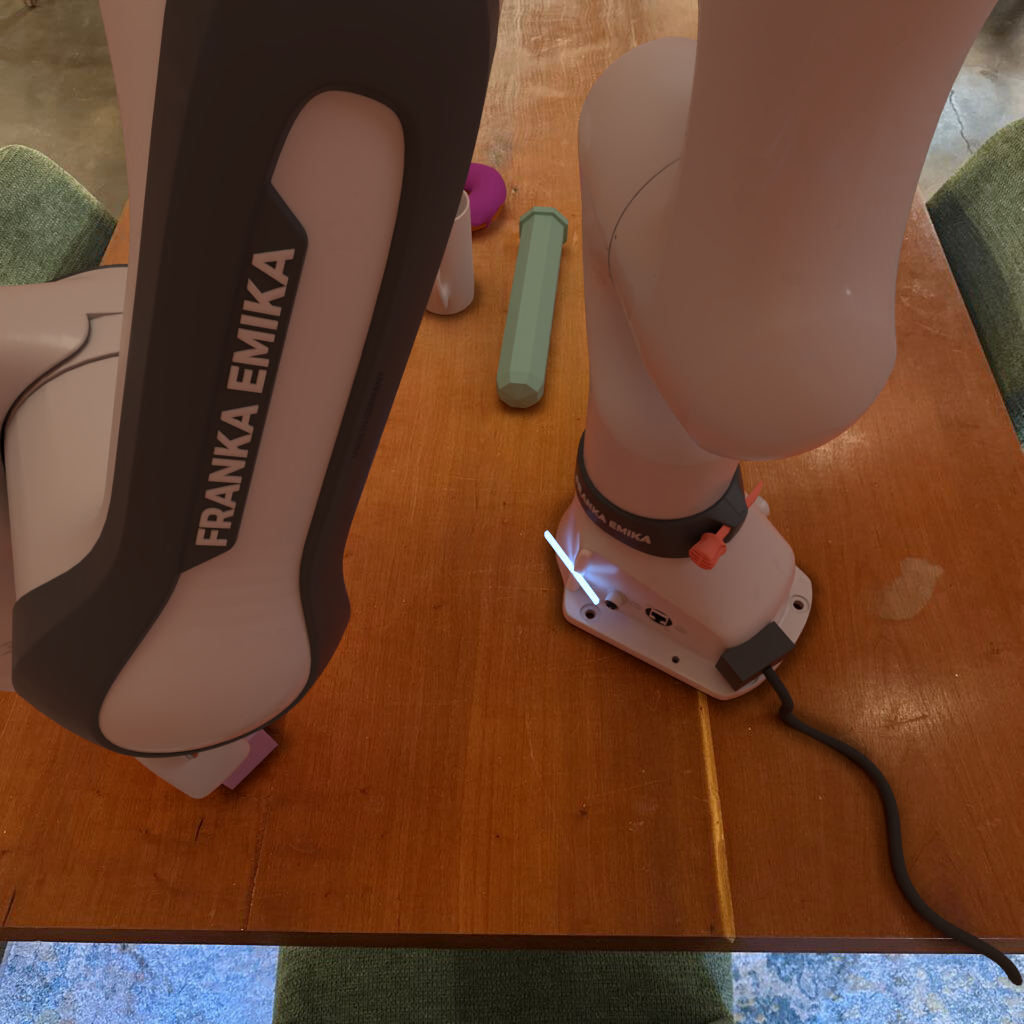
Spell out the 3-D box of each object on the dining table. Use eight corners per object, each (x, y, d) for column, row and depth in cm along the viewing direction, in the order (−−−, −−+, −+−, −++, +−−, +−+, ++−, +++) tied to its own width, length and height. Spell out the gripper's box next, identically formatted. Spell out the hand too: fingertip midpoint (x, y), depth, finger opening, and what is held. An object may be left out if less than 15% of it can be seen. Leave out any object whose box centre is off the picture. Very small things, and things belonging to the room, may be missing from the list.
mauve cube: (278, 744, 60) (260, 729, 56) (232, 790, 58) (211, 777, 54) (242, 707, 61) (223, 690, 57) (196, 750, 60) (173, 735, 56)
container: (534, 374, 71) (559, 198, 83) (477, 386, 73) (509, 213, 86) (556, 413, 75) (577, 240, 88) (502, 422, 78) (530, 253, 90)
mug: (418, 274, 87) (404, 181, 77) (477, 274, 87) (470, 180, 77) (411, 339, 82) (394, 248, 71) (474, 339, 82) (466, 248, 71)
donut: (462, 176, 96) (459, 142, 92) (525, 208, 93) (525, 174, 89) (406, 219, 92) (401, 185, 88) (470, 253, 89) (468, 220, 85)
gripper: (226, 680, 32) (307, 759, 44) (-18, 431, 40) (108, 556, 51) (98, 798, 30) (220, 848, 42) (-137, 510, 37) (24, 622, 49)
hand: (156, 685), depth 47 cm, fingers open, 8 cm apart
